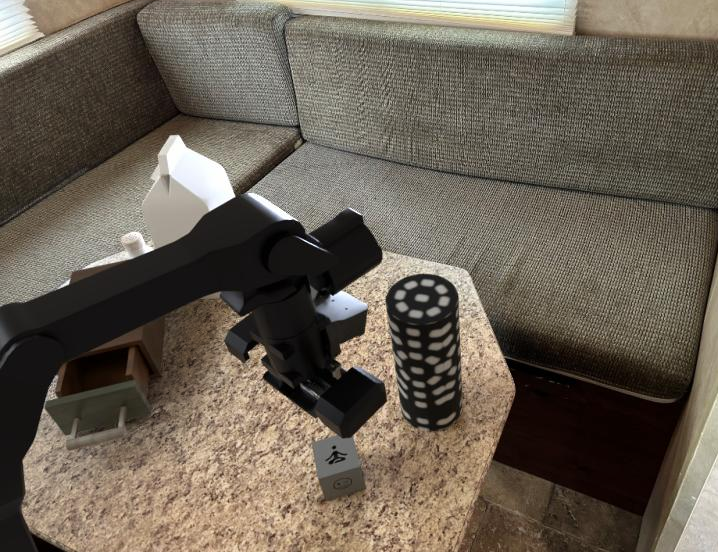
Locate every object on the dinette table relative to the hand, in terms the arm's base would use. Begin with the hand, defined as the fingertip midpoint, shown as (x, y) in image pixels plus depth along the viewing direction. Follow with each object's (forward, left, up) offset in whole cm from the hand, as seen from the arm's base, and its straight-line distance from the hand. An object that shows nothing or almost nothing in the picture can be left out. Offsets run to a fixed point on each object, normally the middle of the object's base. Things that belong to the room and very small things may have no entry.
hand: (316, 414), depth 67 cm
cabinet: (-5, +43, -12) cm, 45 cm away
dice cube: (0, -1, -13) cm, 13 cm away
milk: (+13, +44, -13) cm, 48 cm away
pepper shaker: (+5, +53, -13) cm, 55 cm away
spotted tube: (+15, -3, -13) cm, 20 cm away
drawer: (-11, +35, -11) cm, 38 cm away
